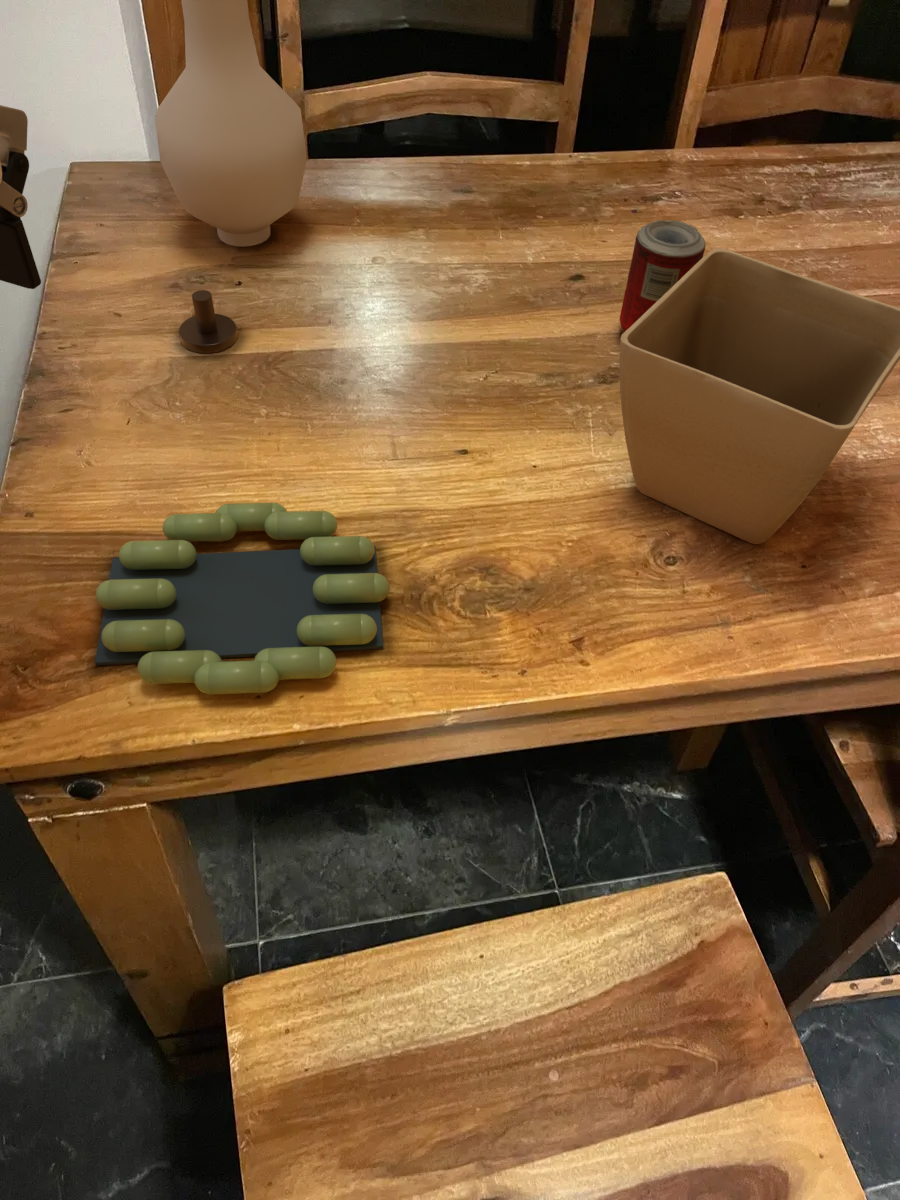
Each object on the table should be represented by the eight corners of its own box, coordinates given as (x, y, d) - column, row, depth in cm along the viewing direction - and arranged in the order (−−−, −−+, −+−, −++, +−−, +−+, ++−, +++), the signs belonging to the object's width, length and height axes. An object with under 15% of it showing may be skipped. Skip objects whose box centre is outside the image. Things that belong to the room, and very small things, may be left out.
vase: (332, 253, 112) (317, -15, 91) (198, 280, 107) (149, 3, 86) (285, 191, 122) (261, -64, 101) (160, 213, 117) (107, -50, 95)
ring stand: (178, 354, 98) (169, 311, 94) (182, 321, 102) (174, 280, 98) (236, 352, 98) (229, 310, 95) (238, 320, 102) (232, 279, 98)
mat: (95, 665, 71) (94, 662, 71) (113, 561, 78) (112, 557, 78) (383, 649, 74) (383, 645, 73) (375, 548, 81) (375, 545, 80)
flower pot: (583, 494, 86) (616, 337, 74) (674, 395, 97) (715, 242, 84) (777, 587, 80) (849, 432, 67) (851, 470, 90) (926, 316, 77)
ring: (77, 705, 68) (68, 686, 67) (118, 519, 81) (112, 499, 79) (393, 694, 70) (393, 675, 69) (386, 514, 83) (386, 494, 81)
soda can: (682, 357, 101) (711, 251, 92) (617, 352, 101) (639, 246, 92) (677, 321, 106) (704, 217, 97) (615, 316, 106) (636, 212, 97)
